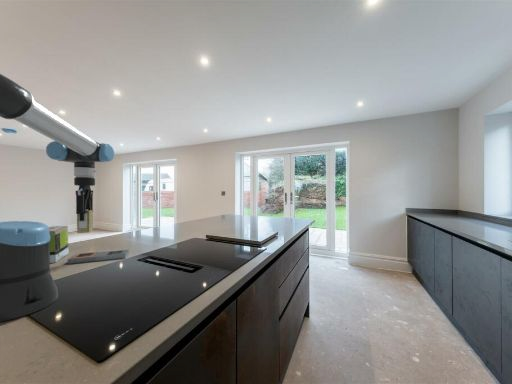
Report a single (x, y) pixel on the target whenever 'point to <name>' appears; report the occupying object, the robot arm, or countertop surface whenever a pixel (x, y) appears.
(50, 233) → the tea box
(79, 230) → the brass block with knob
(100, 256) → the plate with square holes
